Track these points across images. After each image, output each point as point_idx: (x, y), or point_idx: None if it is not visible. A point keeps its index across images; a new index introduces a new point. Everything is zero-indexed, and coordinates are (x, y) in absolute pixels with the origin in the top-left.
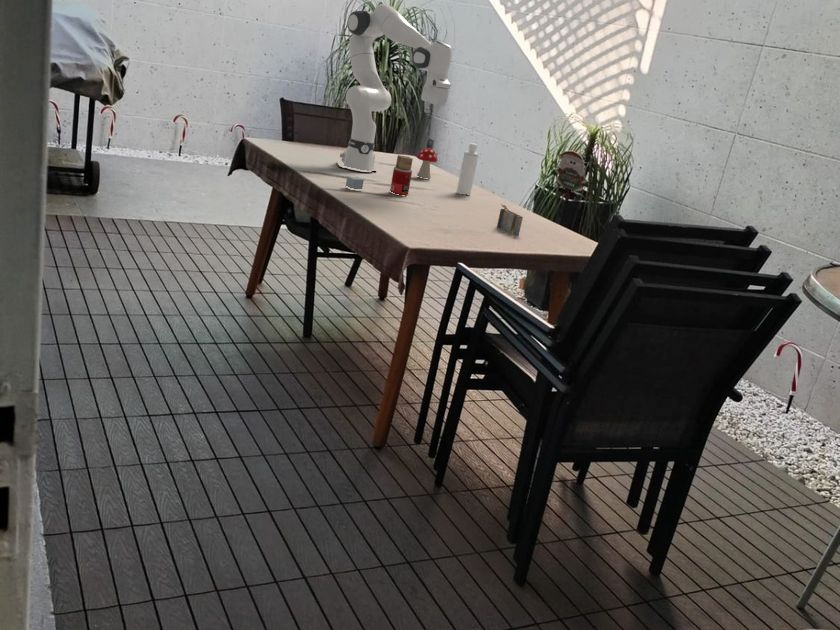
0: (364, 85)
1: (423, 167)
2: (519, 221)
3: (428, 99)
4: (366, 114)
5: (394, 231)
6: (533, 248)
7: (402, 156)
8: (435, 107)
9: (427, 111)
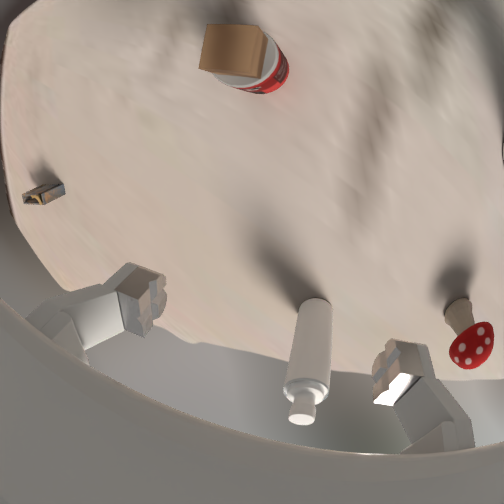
0: None
1: (465, 320)
2: (28, 196)
3: (282, 497)
4: None
5: (36, 10)
6: (13, 174)
7: (232, 36)
8: (45, 302)
9: (385, 364)
